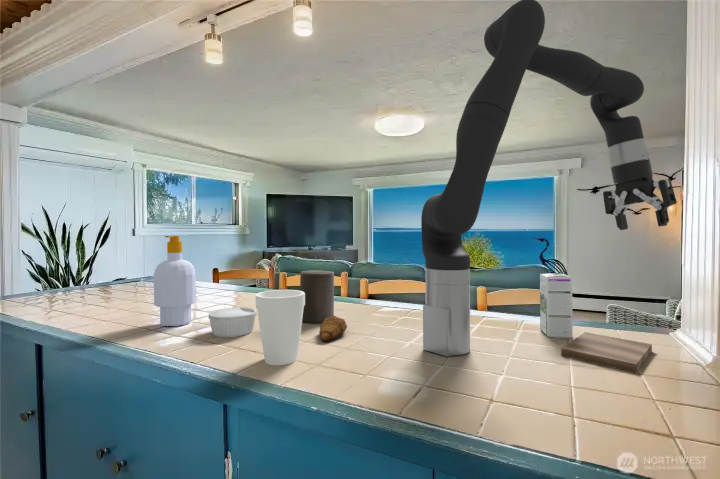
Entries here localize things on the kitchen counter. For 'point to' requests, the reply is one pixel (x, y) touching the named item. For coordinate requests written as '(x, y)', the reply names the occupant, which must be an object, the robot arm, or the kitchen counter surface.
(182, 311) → the soap bottle
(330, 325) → the croissant
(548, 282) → the syrup box
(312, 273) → the pillar candle
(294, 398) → the kitchen counter surface
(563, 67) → the robot arm
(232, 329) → the ramekin
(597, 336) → the walnut board
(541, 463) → the kitchen counter surface
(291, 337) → the foam cup
